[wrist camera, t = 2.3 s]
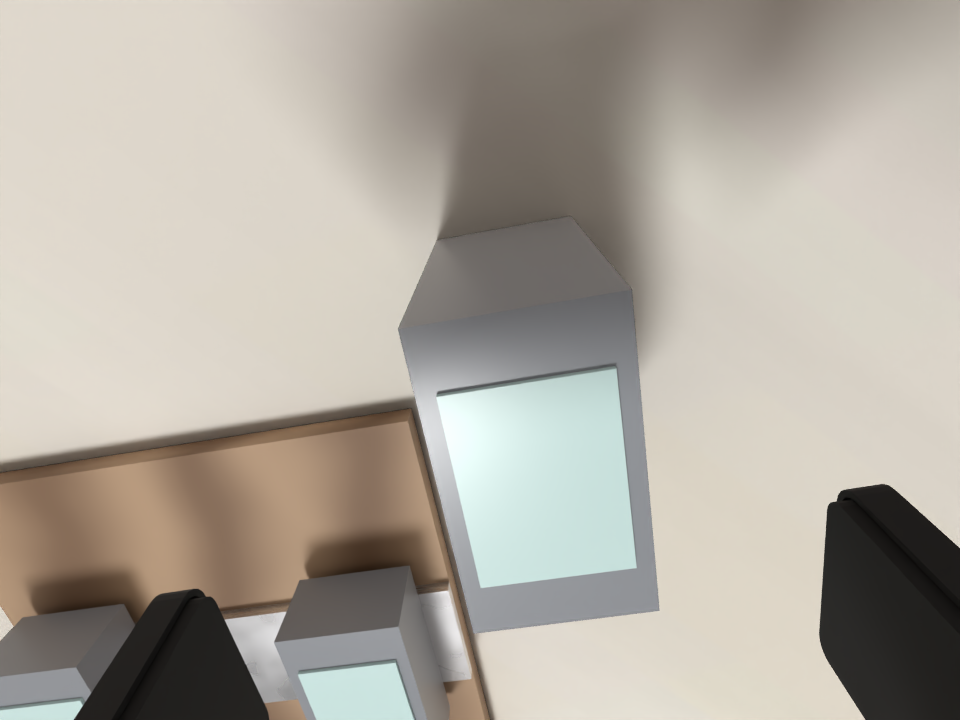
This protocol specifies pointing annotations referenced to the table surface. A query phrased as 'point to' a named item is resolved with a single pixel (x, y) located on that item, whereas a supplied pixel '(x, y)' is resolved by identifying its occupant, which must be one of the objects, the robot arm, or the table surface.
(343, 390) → the table surface
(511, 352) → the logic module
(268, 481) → the board
